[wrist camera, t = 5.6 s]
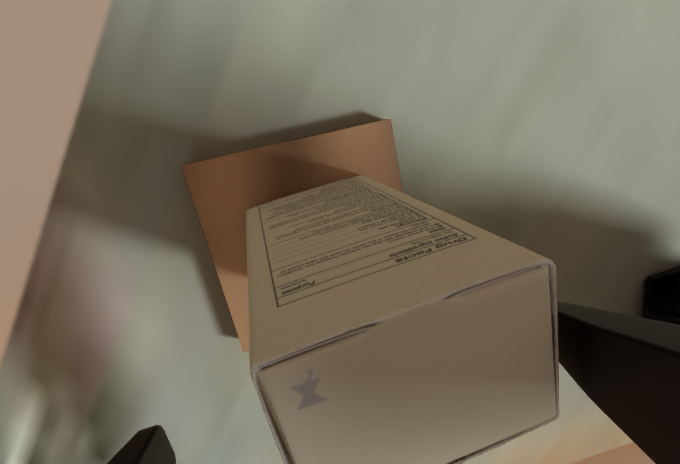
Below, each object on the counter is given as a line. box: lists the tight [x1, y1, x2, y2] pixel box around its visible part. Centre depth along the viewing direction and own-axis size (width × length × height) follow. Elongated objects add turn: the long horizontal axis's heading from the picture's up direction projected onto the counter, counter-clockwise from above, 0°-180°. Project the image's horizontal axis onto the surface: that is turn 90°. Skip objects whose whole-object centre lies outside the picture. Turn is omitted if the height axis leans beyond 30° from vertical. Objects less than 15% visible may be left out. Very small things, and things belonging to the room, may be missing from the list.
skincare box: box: [246, 175, 559, 464], centre depth 13 cm, size 6×4×12 cm
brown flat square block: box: [181, 119, 402, 352], centre depth 20 cm, size 10×10×2 cm
